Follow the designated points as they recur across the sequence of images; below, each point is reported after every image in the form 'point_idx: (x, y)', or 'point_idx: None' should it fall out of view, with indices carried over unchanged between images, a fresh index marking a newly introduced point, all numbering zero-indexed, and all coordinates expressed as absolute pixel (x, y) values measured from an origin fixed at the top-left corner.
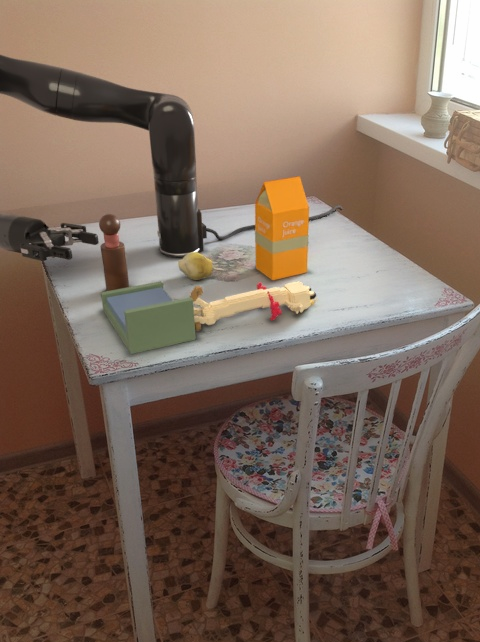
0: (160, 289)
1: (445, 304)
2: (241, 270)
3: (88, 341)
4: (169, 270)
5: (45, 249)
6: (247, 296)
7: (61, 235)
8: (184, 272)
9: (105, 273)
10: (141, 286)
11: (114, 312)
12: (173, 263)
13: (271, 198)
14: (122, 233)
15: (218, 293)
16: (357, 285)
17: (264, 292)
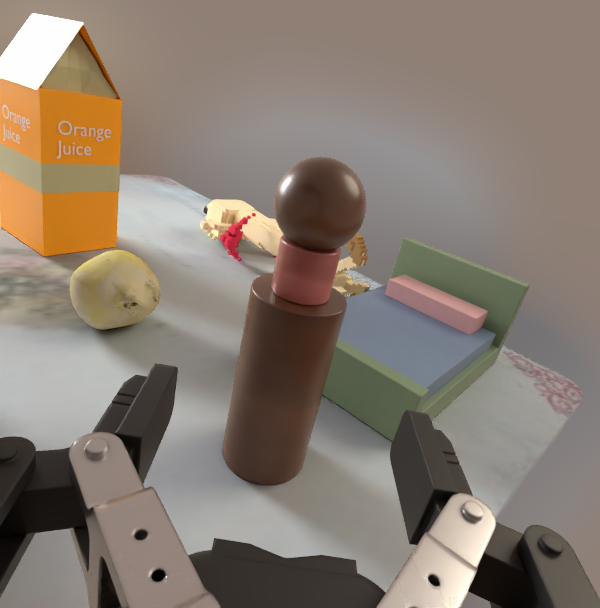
0: None
1: (171, 182)
2: (57, 270)
3: (533, 430)
4: (51, 371)
5: (509, 546)
6: None
7: (235, 548)
8: (142, 312)
9: (317, 403)
10: None
11: (455, 369)
12: None
13: (99, 65)
14: None
15: (198, 294)
16: (125, 203)
17: (273, 219)
